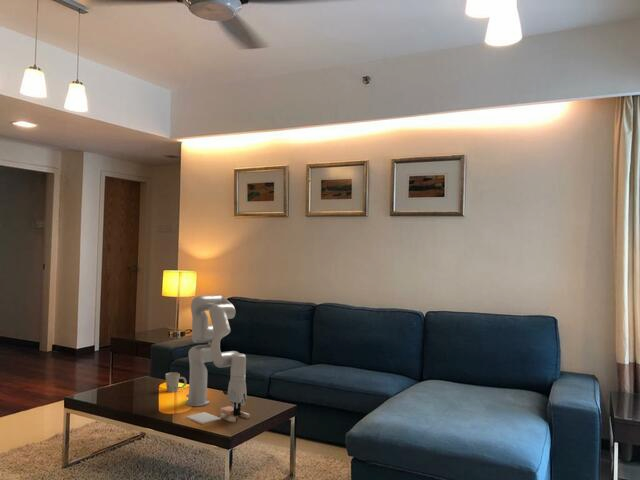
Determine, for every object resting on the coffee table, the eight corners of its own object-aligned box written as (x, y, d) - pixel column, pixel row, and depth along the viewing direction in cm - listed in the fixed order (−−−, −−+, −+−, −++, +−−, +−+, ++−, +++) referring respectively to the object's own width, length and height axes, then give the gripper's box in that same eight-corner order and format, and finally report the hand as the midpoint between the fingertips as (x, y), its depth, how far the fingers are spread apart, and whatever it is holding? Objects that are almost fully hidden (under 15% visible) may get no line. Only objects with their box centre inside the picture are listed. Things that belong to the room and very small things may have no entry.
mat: (186, 417, 258) (186, 416, 258) (204, 413, 266) (204, 411, 266) (202, 424, 248) (202, 422, 248) (221, 419, 256) (221, 418, 256)
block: (219, 416, 263) (220, 408, 263) (229, 413, 267) (229, 405, 267) (229, 419, 257) (229, 411, 258) (239, 417, 262) (239, 409, 262)
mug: (166, 389, 311) (166, 372, 312) (187, 389, 313) (188, 372, 313) (163, 392, 303) (164, 375, 303) (185, 392, 304) (186, 375, 305)
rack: (219, 417, 259) (219, 413, 259) (235, 413, 267) (236, 409, 267) (233, 422, 252) (233, 418, 252) (249, 418, 260) (249, 414, 260)
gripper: (222, 377, 261) (221, 413, 261) (241, 382, 251) (240, 420, 251) (234, 375, 267) (233, 410, 266) (253, 380, 257) (252, 417, 256)
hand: (236, 415), depth 258 cm, fingers closed
